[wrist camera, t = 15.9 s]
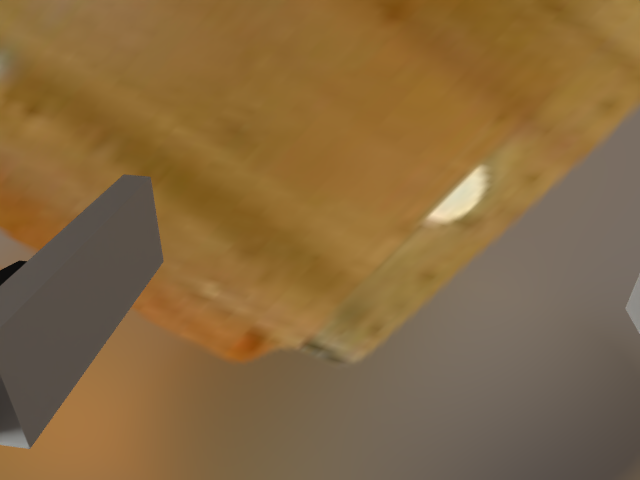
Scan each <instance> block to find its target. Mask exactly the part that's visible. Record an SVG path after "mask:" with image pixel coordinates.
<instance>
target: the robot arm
mask: <svg viewBox="0 0 640 480" xmlns="http://www.w3.org/2000/svg"><path fill="white" fill-rule="evenodd" d="M162 263H163V255H162V249H161V242H160V236H159V229H158V222H157V216H156V209H155V203H154V196H153V190H152V183H151V177H145V176H134V175H123V176H122V177H121V178H119V179H118V180H117V181H116V182H115V183H114V184H113V185H112V186H111V187H109V188H108V189H107V190H106V191H105V192H104V193H103V194H102V195H101V196H100V197H98V198H97V199H96V200H95V201H94V202H93V203H92V204H91V205H90V206H88V207H87V208H86V209H85V210H84V211H83V212H82V213H81V214H80V215H78V216H77V217H76V218H75V219H74V220H73V221H72V222H71V223H70V224H68V225H67V226H66V227H65V228H64V229H63V230H62V231H61V232H60V233H58V234H57V235H56V236H55V237H54V238H53V239H52V240H51V241H50V242H48V243H47V244H46V245H45V246H44V247H43V248H42V249H41V250H40V251H38V252H37V253H36V254H35V255H34V256H33V257H32V258H31V259H30V260H29V261H18V262H16V263H14V264H12V265H10V266H8V267H6V268H4V269H2V270H0V445H6V446H13V447H20V448H28V449H30V448H31V447H32V445H33V444H34V442H35V441H36V440H37V438H38V437H39V435H40V434H41V433H42V431H43V430H44V428H45V427H46V425H47V424H48V423H49V421H50V420H51V419H52V417H53V416H54V414H55V413H56V411H57V410H58V409H59V407H60V406H61V405H62V403H63V402H64V400H65V399H66V398H67V396H68V395H69V393H70V392H71V390H72V389H73V388H74V386H75V385H76V384H77V382H78V381H79V379H80V378H81V377H82V375H83V374H84V372H85V371H86V369H87V368H88V367H89V365H90V364H91V363H92V361H93V360H94V358H95V357H96V355H97V354H98V353H99V351H100V350H101V348H102V347H103V346H104V344H105V343H106V341H107V340H108V339H109V337H110V336H111V334H112V333H113V332H114V330H115V329H116V327H117V326H118V325H119V323H120V322H121V320H122V319H123V317H124V316H125V315H126V313H127V312H128V311H129V309H130V308H131V306H132V305H133V304H134V302H135V301H136V299H137V298H138V297H139V295H140V294H141V292H142V291H143V290H144V288H145V287H146V285H147V284H148V283H149V281H150V280H151V278H152V277H153V275H154V274H155V273H156V271H157V270H158V268H159V267H160V266H161V264H162ZM625 309H626V310H627V312H628V314H629V316H630V317H631V319H632V321H633V323H634V325H635V326H636V328H637V330H638V332H639V333H640V274H639V276H638V279H637V281H636V284H635V286H634V289H633V291H632V294H631V296H630V298H629V301H628V303H627V306H626V308H625Z"/></svg>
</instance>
